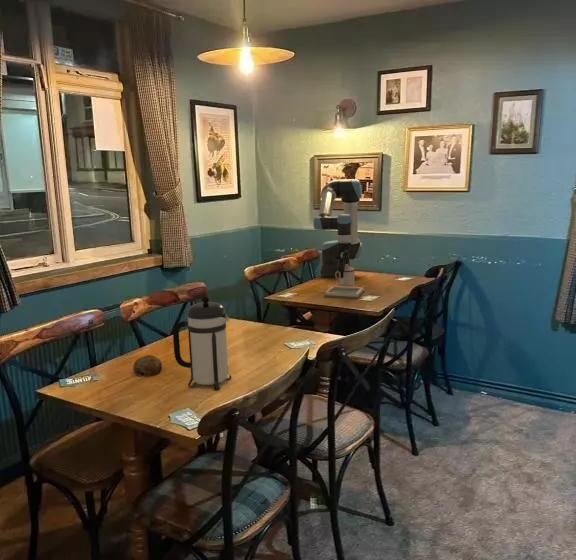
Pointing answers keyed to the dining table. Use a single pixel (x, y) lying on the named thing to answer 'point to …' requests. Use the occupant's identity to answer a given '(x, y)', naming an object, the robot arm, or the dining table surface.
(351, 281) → the teacup with lid
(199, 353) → the coffee press
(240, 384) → the dining table surface
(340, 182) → the robot arm
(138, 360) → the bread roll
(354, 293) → the grey shallow tray
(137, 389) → the dining table surface
